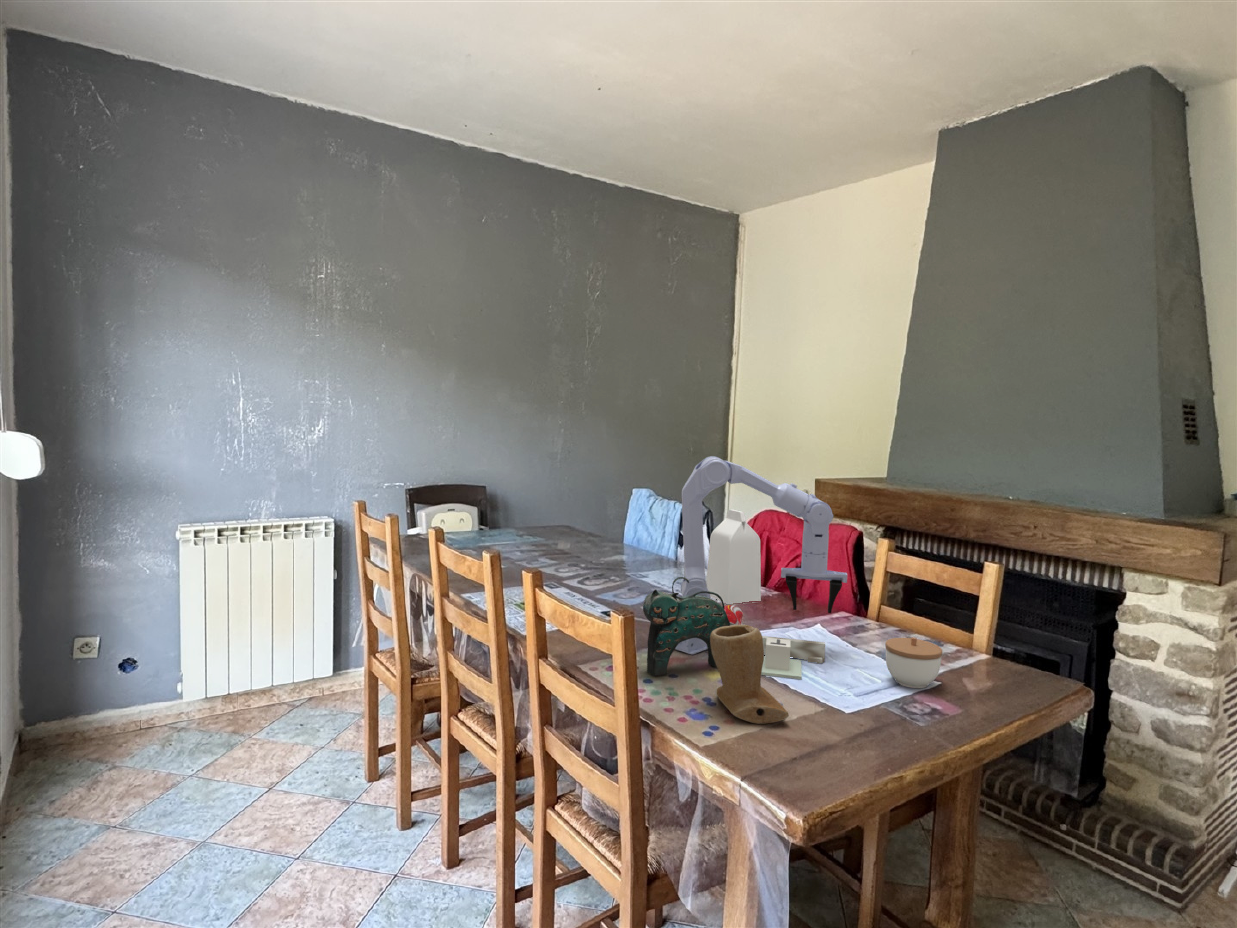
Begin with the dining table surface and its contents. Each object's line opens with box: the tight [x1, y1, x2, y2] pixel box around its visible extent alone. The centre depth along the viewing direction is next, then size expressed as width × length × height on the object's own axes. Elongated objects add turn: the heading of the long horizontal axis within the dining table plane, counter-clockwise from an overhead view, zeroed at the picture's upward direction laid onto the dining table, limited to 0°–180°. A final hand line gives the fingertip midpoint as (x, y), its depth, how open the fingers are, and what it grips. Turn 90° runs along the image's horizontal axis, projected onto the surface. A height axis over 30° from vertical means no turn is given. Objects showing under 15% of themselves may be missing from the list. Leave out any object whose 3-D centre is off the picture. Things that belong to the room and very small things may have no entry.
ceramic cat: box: [642, 576, 730, 678], centre depth 147 cm, size 20×6×20 cm, turn 112°
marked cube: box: [765, 638, 791, 671], centre depth 149 cm, size 5×5×5 cm
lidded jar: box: [885, 636, 943, 689], centre depth 143 cm, size 11×11×9 cm
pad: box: [761, 656, 803, 680], centre depth 149 cm, size 10×10×1 cm
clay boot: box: [710, 624, 790, 725], centre depth 127 cm, size 15×12×15 cm
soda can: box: [724, 604, 746, 626], centre depth 167 cm, size 7×7×12 cm
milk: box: [706, 508, 762, 605], centre depth 205 cm, size 12×12×26 cm
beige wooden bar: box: [762, 635, 826, 664], centre depth 157 cm, size 20×4×4 cm, turn 76°
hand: (812, 610), depth 161 cm, fingers open, 7 cm apart
